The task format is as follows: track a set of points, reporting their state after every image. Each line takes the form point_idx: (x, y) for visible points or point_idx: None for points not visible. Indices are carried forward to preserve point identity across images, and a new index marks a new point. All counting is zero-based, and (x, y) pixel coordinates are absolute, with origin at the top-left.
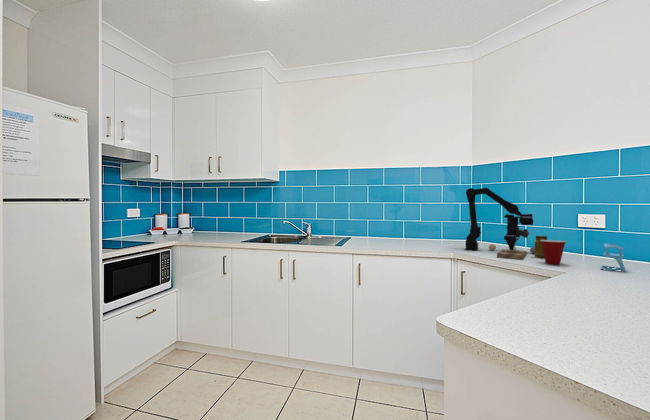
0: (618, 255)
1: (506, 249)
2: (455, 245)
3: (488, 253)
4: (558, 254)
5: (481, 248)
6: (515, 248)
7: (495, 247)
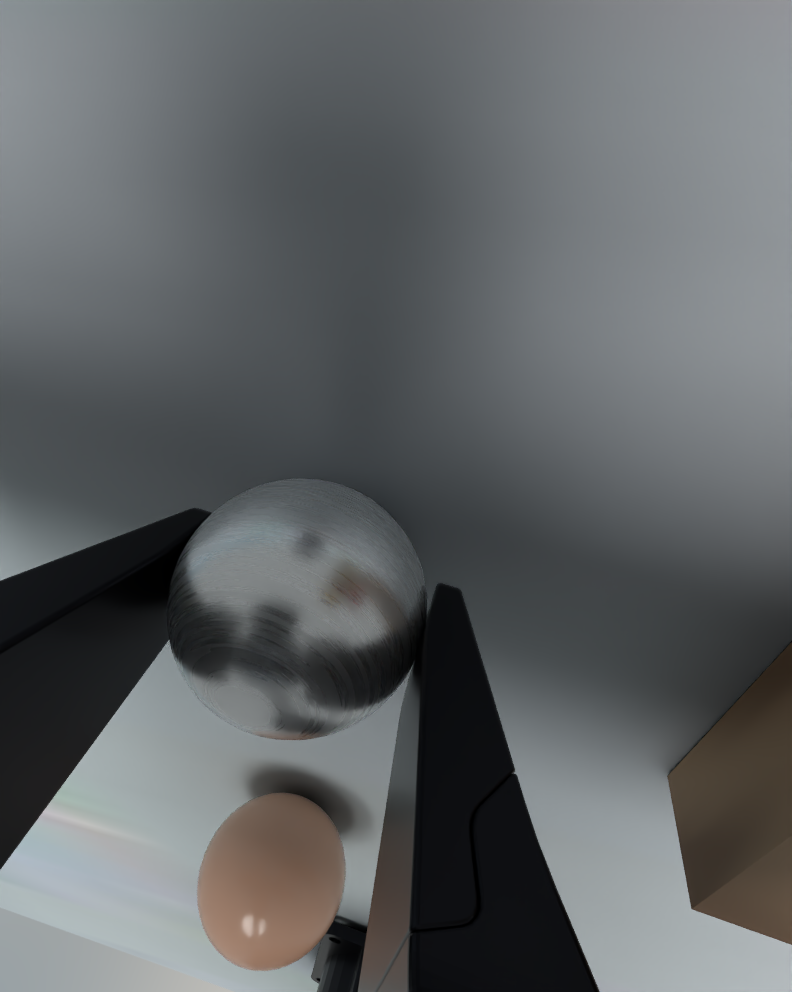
0: None
1: (762, 862)
2: (140, 952)
3: (735, 950)
4: None
5: (187, 850)
6: (356, 555)
7: (295, 855)
